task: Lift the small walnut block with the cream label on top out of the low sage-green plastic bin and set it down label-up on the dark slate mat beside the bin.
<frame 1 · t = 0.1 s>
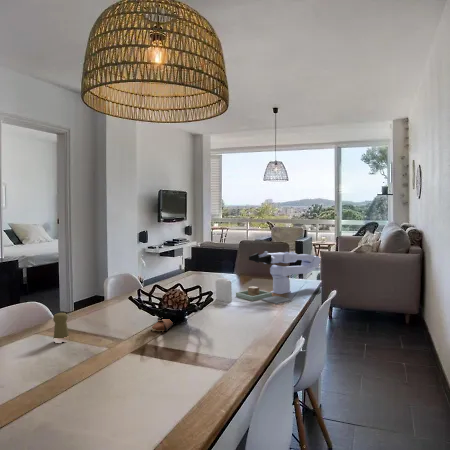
hand: (253, 258, 215), 22 cm above the table, tool horizontal, fingers open, 7 cm apart
cork: (61, 341, 154), on the table
slate mat: (276, 300, 208), on the table
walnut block: (253, 296, 218), resting on bin
bin: (253, 297, 218), on the table
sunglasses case: (164, 327, 171), on the table
white rounded block: (223, 301, 212), on the table
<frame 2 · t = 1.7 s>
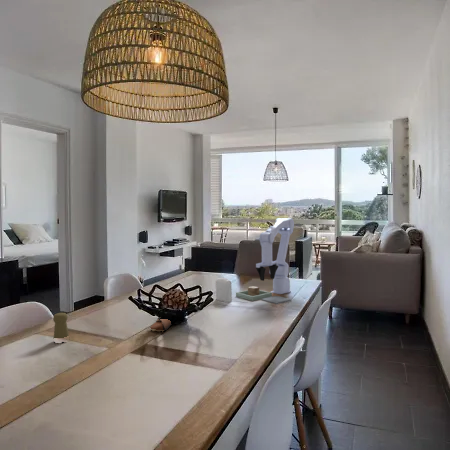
hand: (267, 279, 214), 10 cm above the table, tool pointing down, fingers open, 7 cm apart
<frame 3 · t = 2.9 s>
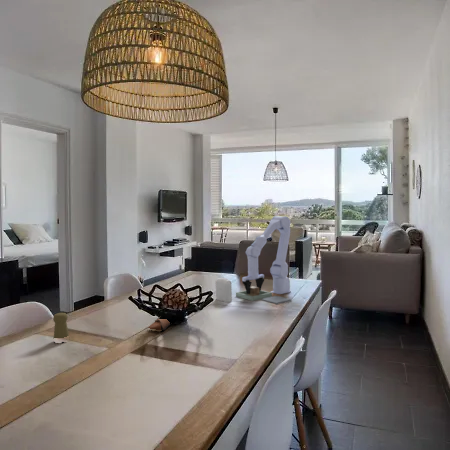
hand: (253, 292, 218), 3 cm above the table, tool pointing down, fingers open, 7 cm apart
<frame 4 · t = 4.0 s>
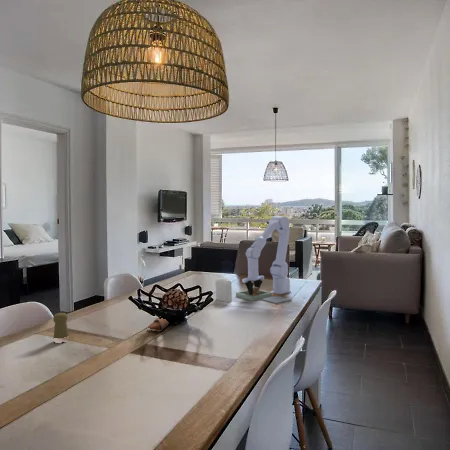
hand: (253, 293, 218), 2 cm above the table, tool pointing down, fingers closed on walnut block, 4 cm apart
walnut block: (253, 296, 218), resting on bin, touching gripper
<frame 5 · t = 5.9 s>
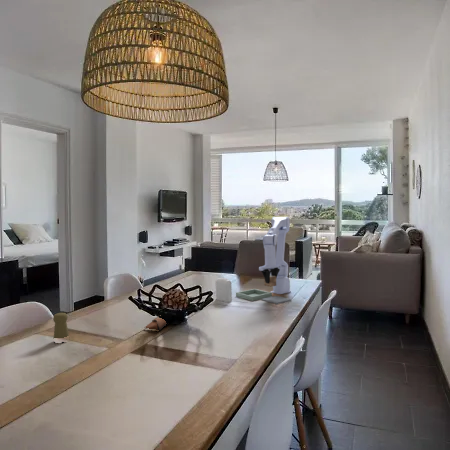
hand: (270, 282, 210), 9 cm above the table, tool pointing down, fingers closed on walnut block, 4 cm apart
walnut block: (270, 285, 210), point 8 cm above the table, touching gripper
when the fingers open (4 cm above the table, at t = 7.9 s): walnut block drops 1 cm, resting on slate mat.
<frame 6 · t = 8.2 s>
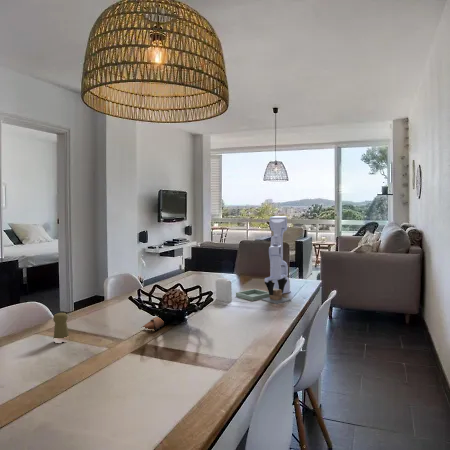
hand: (276, 293, 208), 4 cm above the table, tool pointing down, fingers open, 7 cm apart
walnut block: (275, 298, 209), point 1 cm above the table, touching slate mat
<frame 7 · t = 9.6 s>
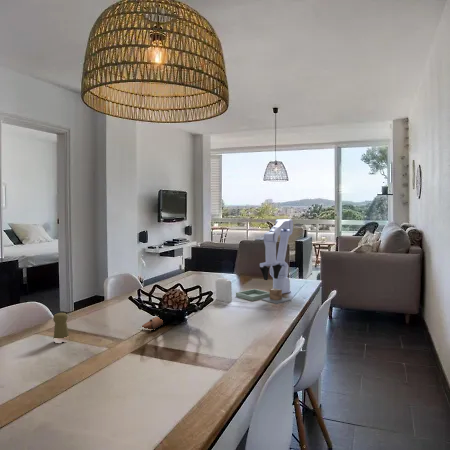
hand: (270, 279, 214), 10 cm above the table, tool pointing down, fingers open, 7 cm apart
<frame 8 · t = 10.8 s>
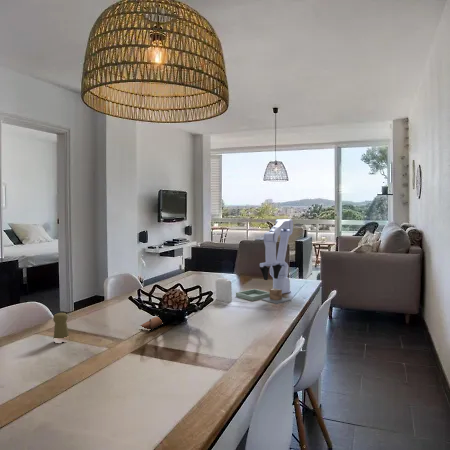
hand: (270, 279, 214), 10 cm above the table, tool pointing down, fingers open, 7 cm apart
at the end: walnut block inside the target area on the slate mat (0.4 cm from its centre), point 1.0 cm above the slate mat's base; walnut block tilted 0°; the gripper is holding nothing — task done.
